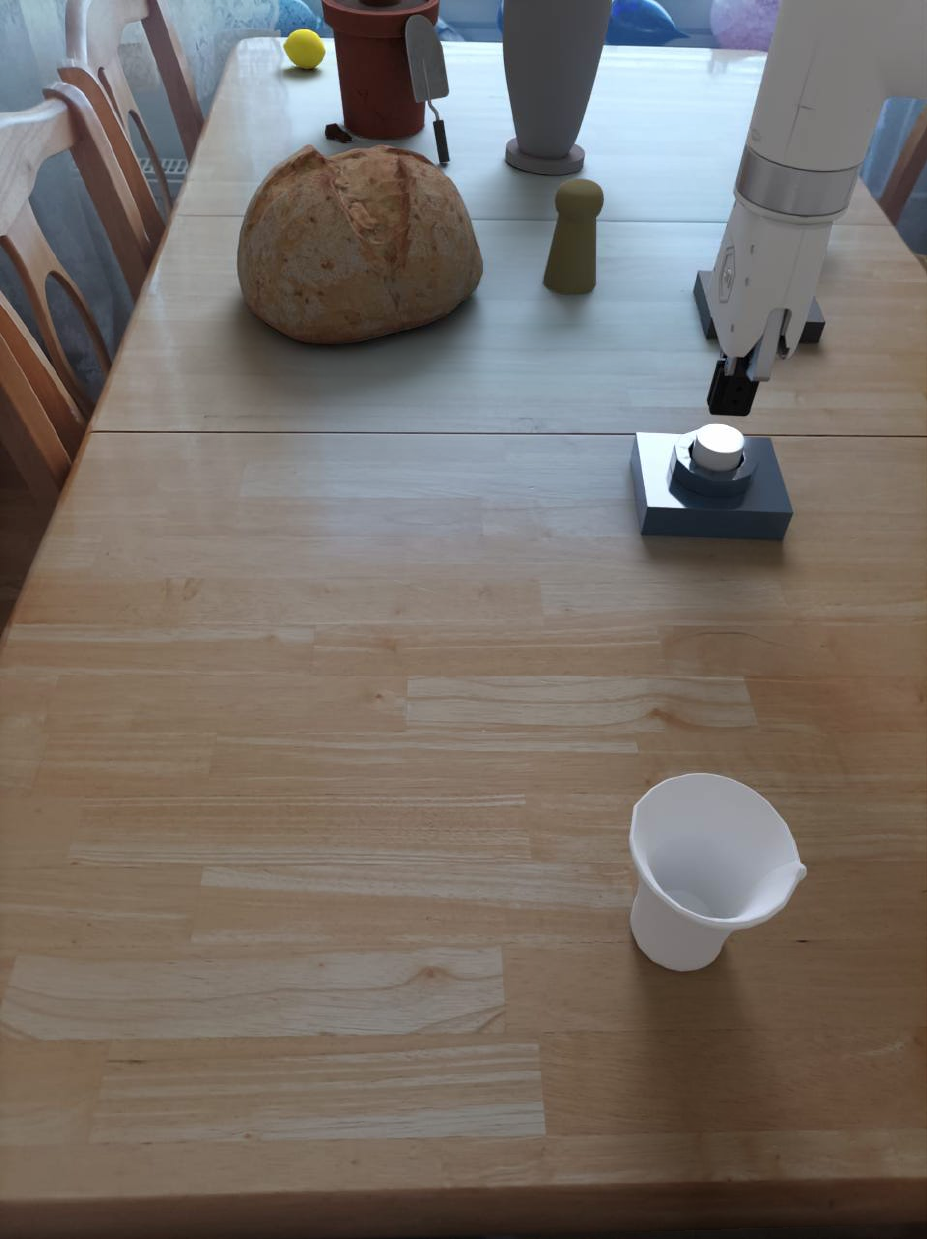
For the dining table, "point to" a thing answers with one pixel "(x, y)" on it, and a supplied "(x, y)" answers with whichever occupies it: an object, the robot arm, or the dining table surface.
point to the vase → (551, 78)
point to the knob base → (703, 278)
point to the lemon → (304, 48)
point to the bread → (356, 245)
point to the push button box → (708, 491)
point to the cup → (706, 867)
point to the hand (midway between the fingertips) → (727, 409)
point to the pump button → (718, 447)
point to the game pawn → (574, 238)
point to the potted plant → (387, 68)
